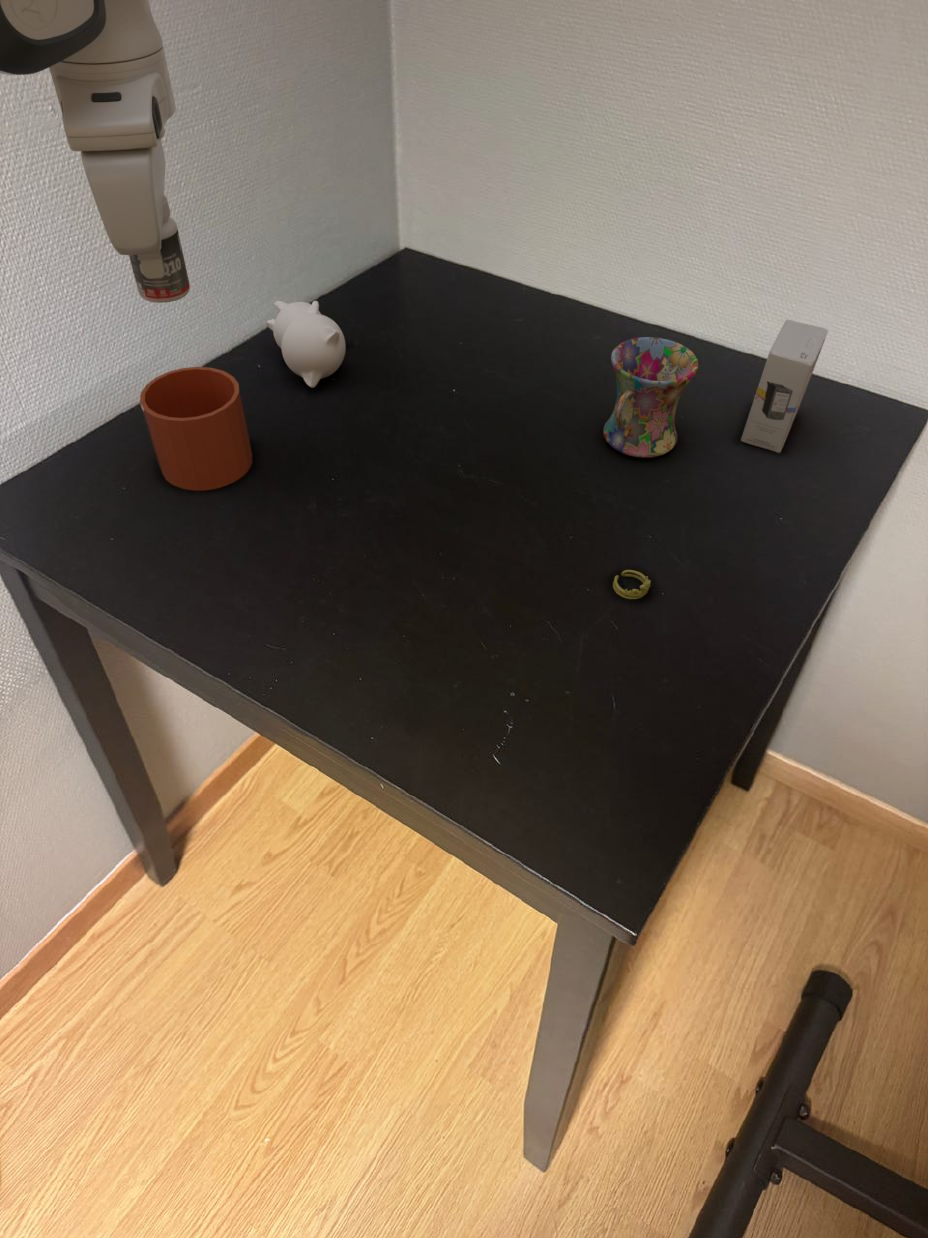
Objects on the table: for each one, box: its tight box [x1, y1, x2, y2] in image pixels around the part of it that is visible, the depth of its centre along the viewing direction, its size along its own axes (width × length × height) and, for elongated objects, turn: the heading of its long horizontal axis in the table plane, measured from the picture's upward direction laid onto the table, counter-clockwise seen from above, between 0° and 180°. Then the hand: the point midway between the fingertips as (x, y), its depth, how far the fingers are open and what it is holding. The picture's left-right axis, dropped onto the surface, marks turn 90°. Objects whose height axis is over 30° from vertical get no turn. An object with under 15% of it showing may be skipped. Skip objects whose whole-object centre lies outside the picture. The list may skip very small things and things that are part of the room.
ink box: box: [740, 319, 829, 454], centre depth 98 cm, size 9×5×12 cm, turn 153°
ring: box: [612, 569, 652, 600], centre depth 83 cm, size 3×3×3 cm
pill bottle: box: [128, 194, 191, 304], centre depth 78 cm, size 5×5×8 cm
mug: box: [602, 336, 699, 458], centre depth 96 cm, size 12×9×11 cm
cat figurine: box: [266, 300, 346, 388], centre depth 108 cm, size 9×11×12 cm
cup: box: [139, 366, 254, 491], centre depth 93 cm, size 10×10×9 cm
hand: (156, 260), depth 79 cm, fingers closed on pill bottle, 5 cm apart
